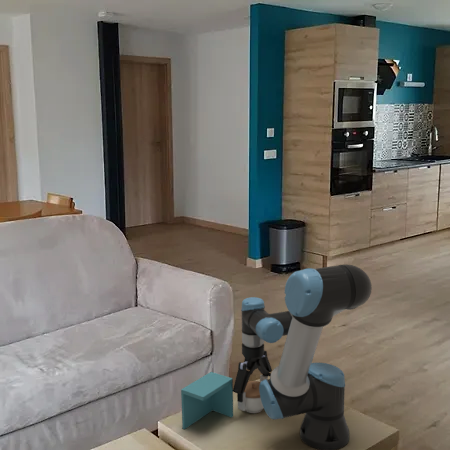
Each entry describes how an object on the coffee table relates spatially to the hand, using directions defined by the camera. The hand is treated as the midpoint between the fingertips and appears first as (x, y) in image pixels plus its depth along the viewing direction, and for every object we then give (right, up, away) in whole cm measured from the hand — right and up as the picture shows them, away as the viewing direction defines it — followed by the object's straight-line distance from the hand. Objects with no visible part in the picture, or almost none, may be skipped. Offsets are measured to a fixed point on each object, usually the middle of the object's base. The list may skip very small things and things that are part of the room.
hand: (253, 401), depth 204 cm
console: (-15, -5, -8) cm, 18 cm away
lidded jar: (0, -3, 0) cm, 3 cm away
